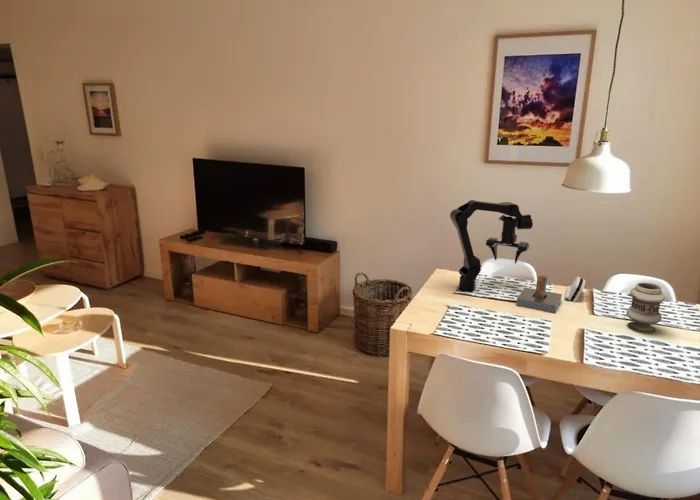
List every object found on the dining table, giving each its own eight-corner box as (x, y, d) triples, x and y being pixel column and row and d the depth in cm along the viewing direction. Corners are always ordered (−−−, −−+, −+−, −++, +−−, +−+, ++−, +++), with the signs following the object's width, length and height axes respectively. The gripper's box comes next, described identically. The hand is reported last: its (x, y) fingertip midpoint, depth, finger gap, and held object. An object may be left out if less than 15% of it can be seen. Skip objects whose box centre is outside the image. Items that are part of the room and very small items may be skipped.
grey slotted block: (516, 305, 223) (517, 298, 222) (524, 294, 236) (525, 287, 235) (554, 313, 215) (555, 305, 214) (560, 301, 228) (561, 294, 227)
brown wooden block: (533, 304, 225) (537, 276, 221) (535, 301, 228) (539, 274, 224) (542, 305, 223) (545, 277, 219) (543, 303, 226) (547, 275, 222)
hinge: (566, 289, 244) (576, 271, 240) (575, 293, 243) (586, 276, 239) (563, 300, 230) (574, 282, 226) (573, 305, 228) (584, 287, 224)
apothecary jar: (617, 324, 205) (624, 282, 200) (638, 320, 210) (646, 278, 205) (644, 336, 194) (652, 292, 189) (665, 331, 199) (674, 288, 194)
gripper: (533, 228, 238) (529, 260, 243) (493, 223, 248) (490, 254, 252) (527, 233, 229) (524, 266, 234) (486, 228, 238) (484, 260, 243)
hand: (505, 261), depth 241 cm, fingers open, 9 cm apart
